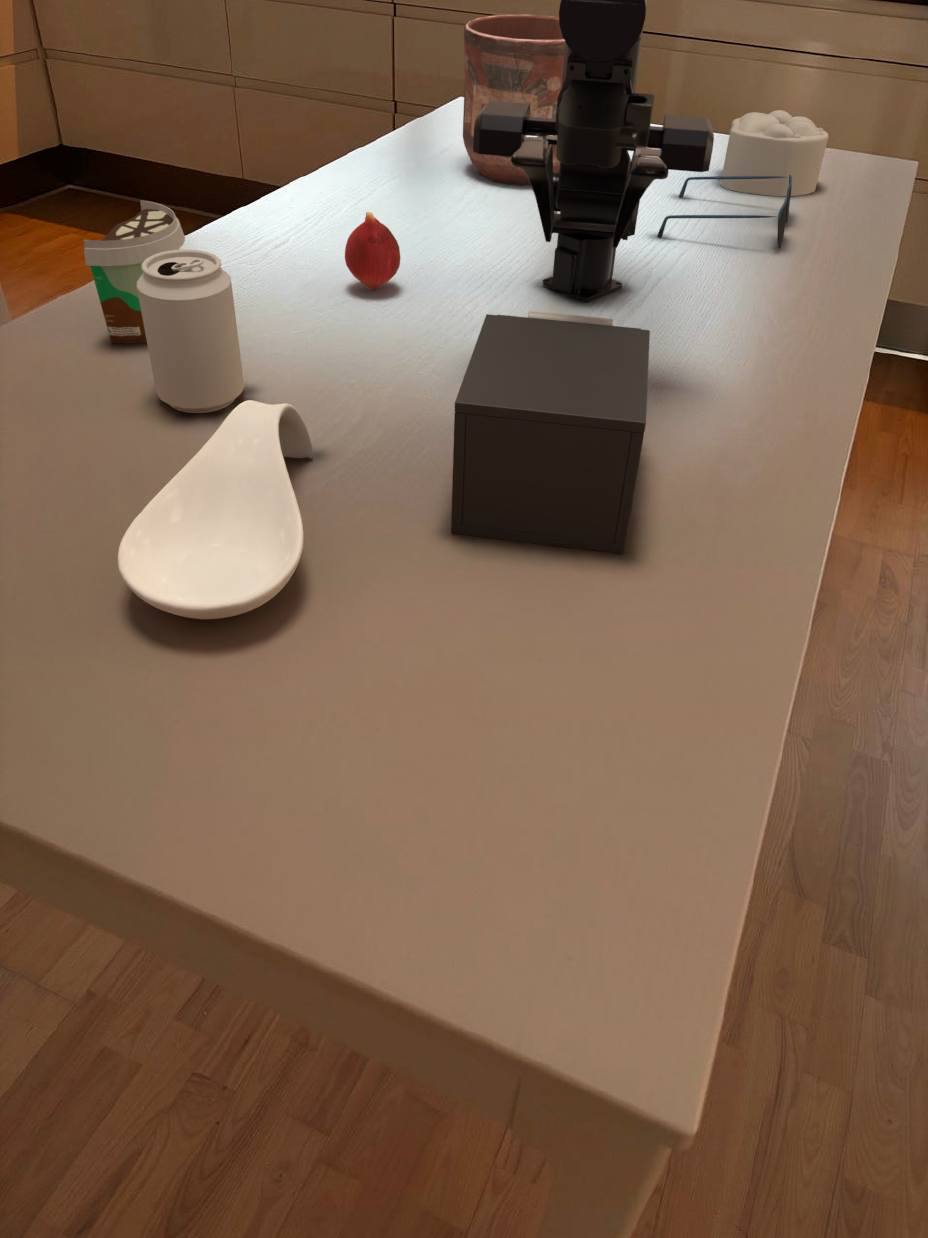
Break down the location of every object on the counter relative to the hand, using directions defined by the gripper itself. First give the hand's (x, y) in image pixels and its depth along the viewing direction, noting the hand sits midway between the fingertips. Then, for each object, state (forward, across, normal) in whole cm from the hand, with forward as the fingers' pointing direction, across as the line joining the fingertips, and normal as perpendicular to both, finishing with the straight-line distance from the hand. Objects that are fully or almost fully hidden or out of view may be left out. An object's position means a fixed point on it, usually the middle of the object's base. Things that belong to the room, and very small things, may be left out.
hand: (581, 243), depth 85 cm
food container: (+12, -40, +1) cm, 42 cm away
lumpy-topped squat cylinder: (+12, +23, +65) cm, 70 cm away
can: (+12, -31, -12) cm, 36 cm away
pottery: (+12, -11, +61) cm, 63 cm away
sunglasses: (+12, +16, +46) cm, 50 cm away
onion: (+12, -22, +15) cm, 29 cm away
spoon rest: (+12, -21, -31) cm, 40 cm away
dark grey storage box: (+12, 0, -20) cm, 24 cm away
